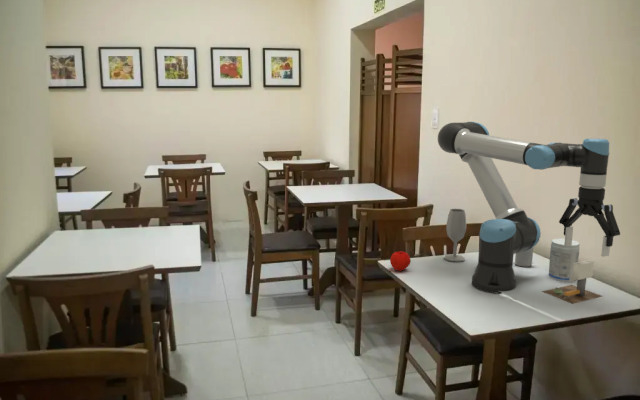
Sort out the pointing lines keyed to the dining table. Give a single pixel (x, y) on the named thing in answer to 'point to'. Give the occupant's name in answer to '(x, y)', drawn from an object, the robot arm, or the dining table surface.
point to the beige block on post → (581, 276)
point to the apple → (400, 260)
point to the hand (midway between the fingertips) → (585, 250)
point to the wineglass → (456, 231)
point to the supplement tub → (563, 260)
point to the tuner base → (573, 298)
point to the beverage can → (524, 258)
